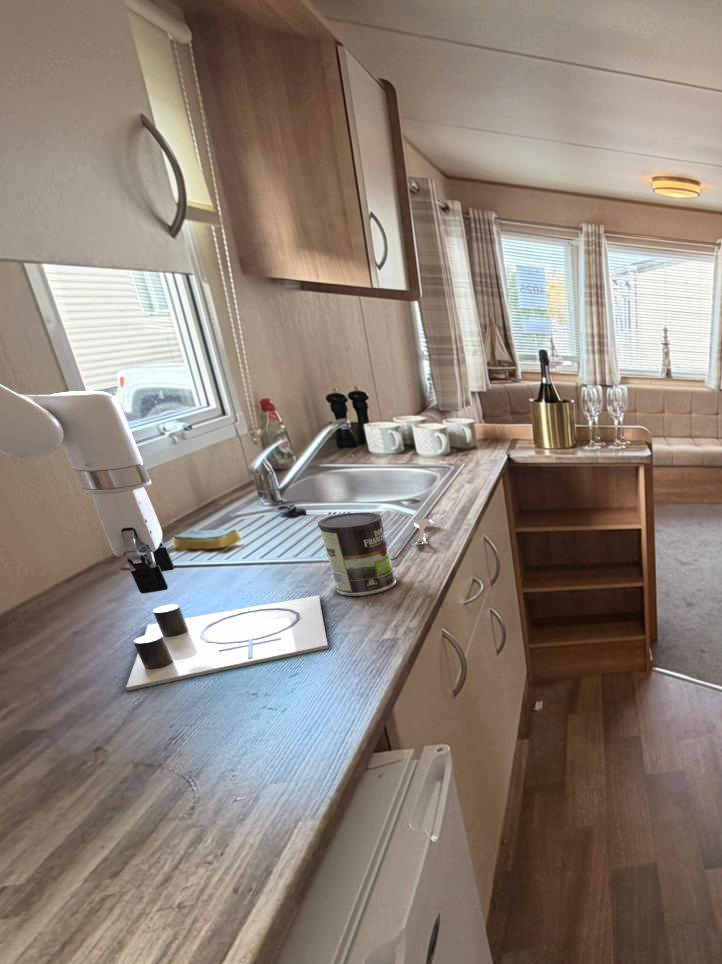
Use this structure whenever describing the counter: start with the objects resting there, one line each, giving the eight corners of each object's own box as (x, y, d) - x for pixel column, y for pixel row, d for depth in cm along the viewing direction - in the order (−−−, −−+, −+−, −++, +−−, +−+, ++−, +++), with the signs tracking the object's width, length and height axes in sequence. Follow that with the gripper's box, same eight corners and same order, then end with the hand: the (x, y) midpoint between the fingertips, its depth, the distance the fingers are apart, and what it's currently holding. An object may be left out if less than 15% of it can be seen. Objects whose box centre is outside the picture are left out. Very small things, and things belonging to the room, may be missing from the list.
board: (127, 691, 92) (125, 686, 92) (149, 627, 109) (147, 624, 109) (328, 648, 106) (327, 644, 105) (319, 598, 123) (318, 594, 123)
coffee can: (407, 577, 134) (392, 512, 128) (377, 597, 124) (360, 528, 118) (357, 575, 133) (340, 510, 128) (324, 595, 124) (304, 526, 118)
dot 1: (143, 671, 96) (131, 645, 94) (146, 662, 98) (134, 636, 96) (172, 665, 98) (161, 639, 96) (174, 657, 100) (163, 631, 98)
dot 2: (161, 638, 105) (151, 614, 103) (163, 631, 107) (153, 607, 105) (187, 633, 107) (178, 609, 105) (189, 626, 109) (179, 602, 107)
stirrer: (428, 534, 147) (404, 536, 145) (431, 548, 148) (407, 551, 146) (432, 515, 164) (411, 516, 162) (435, 528, 165) (414, 530, 163)
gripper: (90, 468, 100) (134, 568, 108) (65, 494, 88) (117, 605, 95) (154, 463, 104) (193, 559, 112) (140, 487, 92) (184, 594, 99)
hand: (158, 580), depth 103 cm, fingers open, 9 cm apart
